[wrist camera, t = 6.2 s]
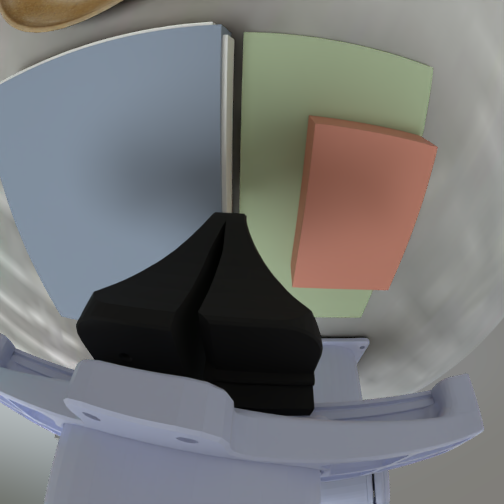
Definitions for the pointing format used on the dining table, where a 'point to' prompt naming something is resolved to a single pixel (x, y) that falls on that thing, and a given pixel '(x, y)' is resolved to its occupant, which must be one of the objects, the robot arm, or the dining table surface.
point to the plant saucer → (50, 13)
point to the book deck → (117, 154)
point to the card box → (357, 203)
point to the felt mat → (295, 133)
